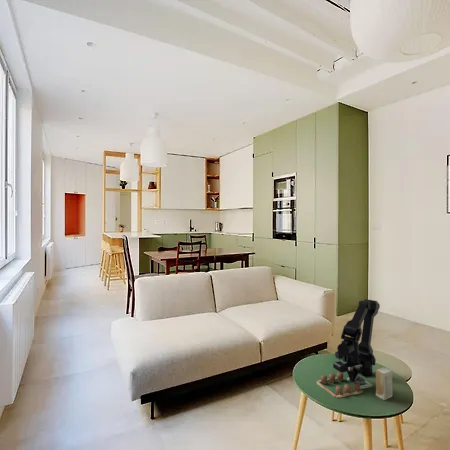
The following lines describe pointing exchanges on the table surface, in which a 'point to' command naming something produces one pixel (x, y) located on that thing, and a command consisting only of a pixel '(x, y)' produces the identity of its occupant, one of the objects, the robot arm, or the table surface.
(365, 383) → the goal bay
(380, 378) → the skincare box
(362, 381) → the grey knob block
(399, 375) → the table surface
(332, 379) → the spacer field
